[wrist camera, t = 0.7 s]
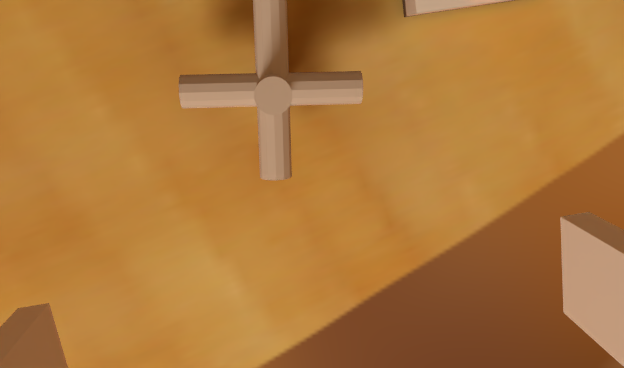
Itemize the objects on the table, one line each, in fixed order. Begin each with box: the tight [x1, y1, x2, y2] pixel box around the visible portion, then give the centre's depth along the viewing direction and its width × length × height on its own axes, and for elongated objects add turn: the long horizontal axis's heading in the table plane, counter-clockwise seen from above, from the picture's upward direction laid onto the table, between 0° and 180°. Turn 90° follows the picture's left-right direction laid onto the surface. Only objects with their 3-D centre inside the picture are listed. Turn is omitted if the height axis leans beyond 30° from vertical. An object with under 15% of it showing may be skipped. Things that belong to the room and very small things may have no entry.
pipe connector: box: [179, 0, 363, 180], centre depth 31 cm, size 10×10×10 cm
